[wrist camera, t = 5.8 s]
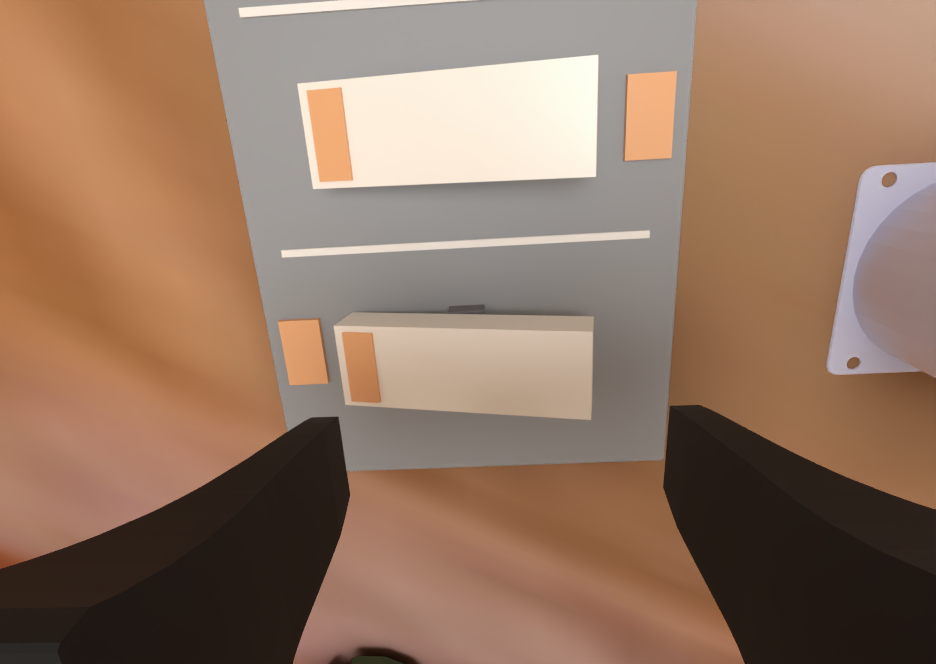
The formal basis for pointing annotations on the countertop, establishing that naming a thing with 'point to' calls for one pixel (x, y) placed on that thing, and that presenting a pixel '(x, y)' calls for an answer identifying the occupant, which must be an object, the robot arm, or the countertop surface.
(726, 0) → the countertop surface
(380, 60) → the panel
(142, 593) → the robot arm
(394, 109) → the rocker
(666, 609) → the countertop surface
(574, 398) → the rocker
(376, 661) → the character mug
